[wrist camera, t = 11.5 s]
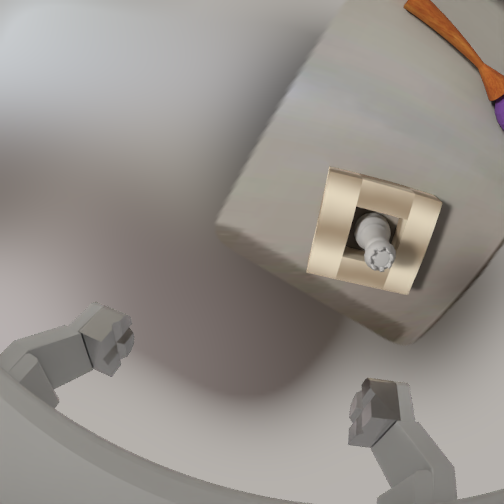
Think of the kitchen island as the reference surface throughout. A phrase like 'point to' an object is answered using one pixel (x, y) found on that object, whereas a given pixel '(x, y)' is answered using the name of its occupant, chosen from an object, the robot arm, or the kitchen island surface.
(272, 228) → the kitchen island surface
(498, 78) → the purple maraca
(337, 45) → the kitchen island surface
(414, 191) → the square wooden frame
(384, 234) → the rook chess piece
